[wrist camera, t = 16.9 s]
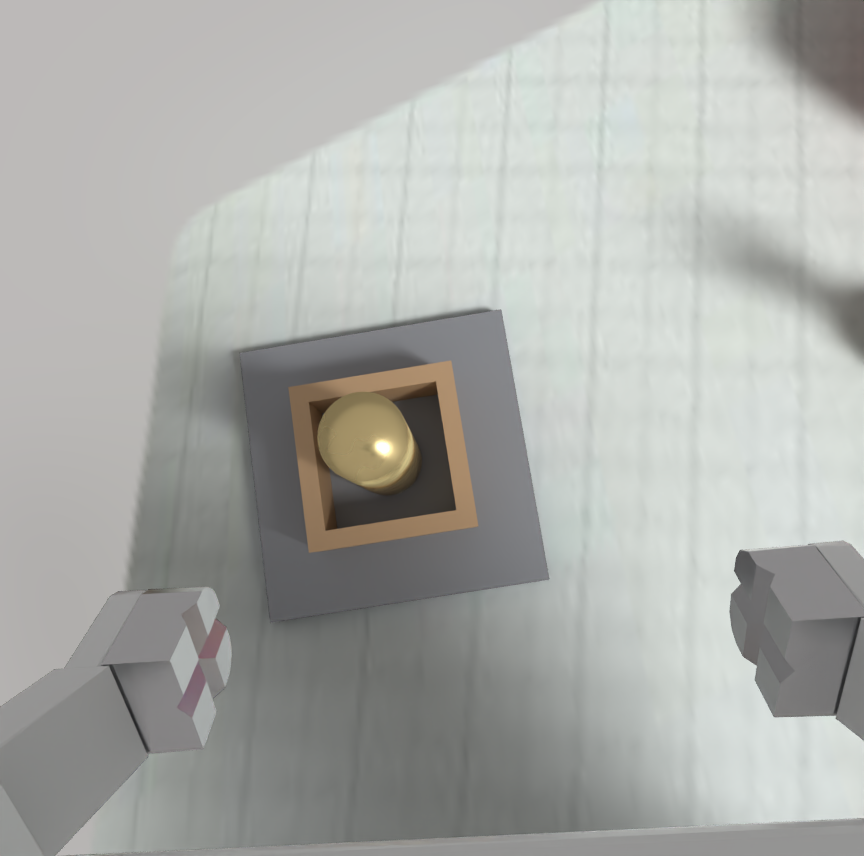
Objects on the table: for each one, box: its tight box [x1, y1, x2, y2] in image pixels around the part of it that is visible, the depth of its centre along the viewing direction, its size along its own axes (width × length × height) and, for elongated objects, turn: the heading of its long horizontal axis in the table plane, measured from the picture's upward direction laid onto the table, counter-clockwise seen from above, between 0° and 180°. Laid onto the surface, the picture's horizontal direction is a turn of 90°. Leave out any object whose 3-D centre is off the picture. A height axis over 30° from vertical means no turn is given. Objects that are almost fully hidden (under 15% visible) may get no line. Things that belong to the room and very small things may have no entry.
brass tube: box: [317, 392, 422, 496], centre depth 35 cm, size 4×4×10 cm
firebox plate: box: [240, 310, 549, 623], centre depth 39 cm, size 16×16×4 cm
